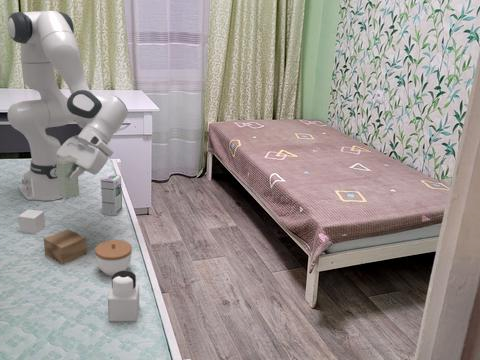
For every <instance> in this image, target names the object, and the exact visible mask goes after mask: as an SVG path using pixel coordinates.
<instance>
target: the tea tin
mask: <svg viewBox="0 0 480 360" xmlns="http://www.w3.org/2000/svg"><path fill="white" fill-rule="evenodd" d="M77 160H78V159H77V158H75V157H72V156H70V155H68V156H63V157H58V158H55V161H56V167H57V179H58V192H59V196H61V197H63V199H65V200H69V199H73V198H77V197H80V184H79V176H78V177H77V178H76V179H75V181H72V180H71V179H69V178H68V176H69V175H70V173H73V172H74V171H75V170H77V169H76V168H77V165H76V164H75V162H76V161H77Z"/></svg>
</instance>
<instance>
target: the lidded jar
mask: <svg viewBox="0 0 480 360" xmlns="http://www.w3.org/2000/svg"><path fill="white" fill-rule="evenodd" d="M132 250H133V249H132V245H131V243H129V242H127V241H124V240H120V239H110V240H105V241H102V242H100V243H99V244H98V245H96V246H95V248H94V254H95V261H96V264H97V267H98V268H99V269H100V271H101V272H103V273H104V274H105V275H106V276H111V277H112V276H113V275H114V274H115V273H117V272H119V271H127V269H128V268H129V266H130V264H131V259H132Z"/></svg>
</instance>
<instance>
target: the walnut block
mask: <svg viewBox="0 0 480 360" xmlns="http://www.w3.org/2000/svg"><path fill="white" fill-rule="evenodd" d="M43 244H44V246H43V247H44V255H45V256H47V257H48V258H50V259H52V260H54V261H56V262H57V263H59V264H61V265H65V264H67V263H69V262H72V261H74V260H76V259H79V258H80V257H82V256H85V255H87V253H88V251H87V237H85V236H83V235H81V234H79V233H77V232H75V231H74V230H71V229H69V228H67V229H65V230H61V231H59V232H57V233H54V234H52V235H50V236H47V237H45V238H43Z"/></svg>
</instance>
